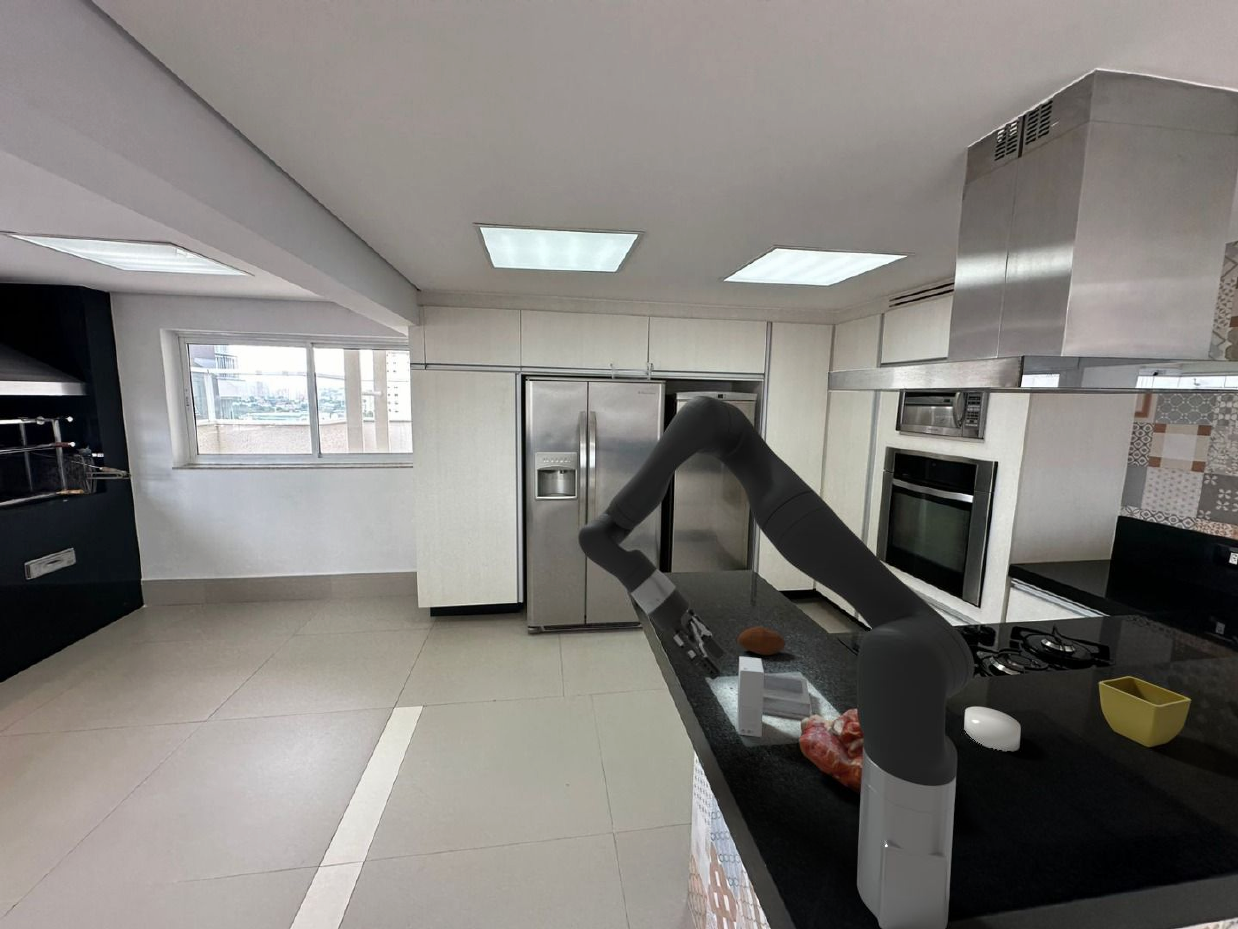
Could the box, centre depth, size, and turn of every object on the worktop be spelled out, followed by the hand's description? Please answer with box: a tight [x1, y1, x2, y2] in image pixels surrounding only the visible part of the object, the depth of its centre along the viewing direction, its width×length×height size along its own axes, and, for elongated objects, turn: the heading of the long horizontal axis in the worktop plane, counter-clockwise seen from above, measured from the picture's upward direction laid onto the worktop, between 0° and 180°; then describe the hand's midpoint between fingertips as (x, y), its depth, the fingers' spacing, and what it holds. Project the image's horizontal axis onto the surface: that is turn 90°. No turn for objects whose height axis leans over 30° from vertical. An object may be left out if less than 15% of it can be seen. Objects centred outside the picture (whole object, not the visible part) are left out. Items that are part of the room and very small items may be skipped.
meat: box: [798, 708, 863, 796], centre depth 82 cm, size 21×21×10 cm
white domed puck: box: [963, 706, 1022, 752], centre depth 89 cm, size 8×8×4 cm
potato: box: [737, 626, 786, 656], centre depth 122 cm, size 6×12×6 cm, turn 87°
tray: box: [763, 672, 813, 720], centre depth 101 cm, size 11×13×3 cm
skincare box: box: [736, 655, 765, 738], centre depth 91 cm, size 6×4×12 cm
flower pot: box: [1098, 675, 1192, 748], centre depth 89 cm, size 9×9×9 cm
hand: (719, 665), depth 92 cm, fingers open, 8 cm apart
